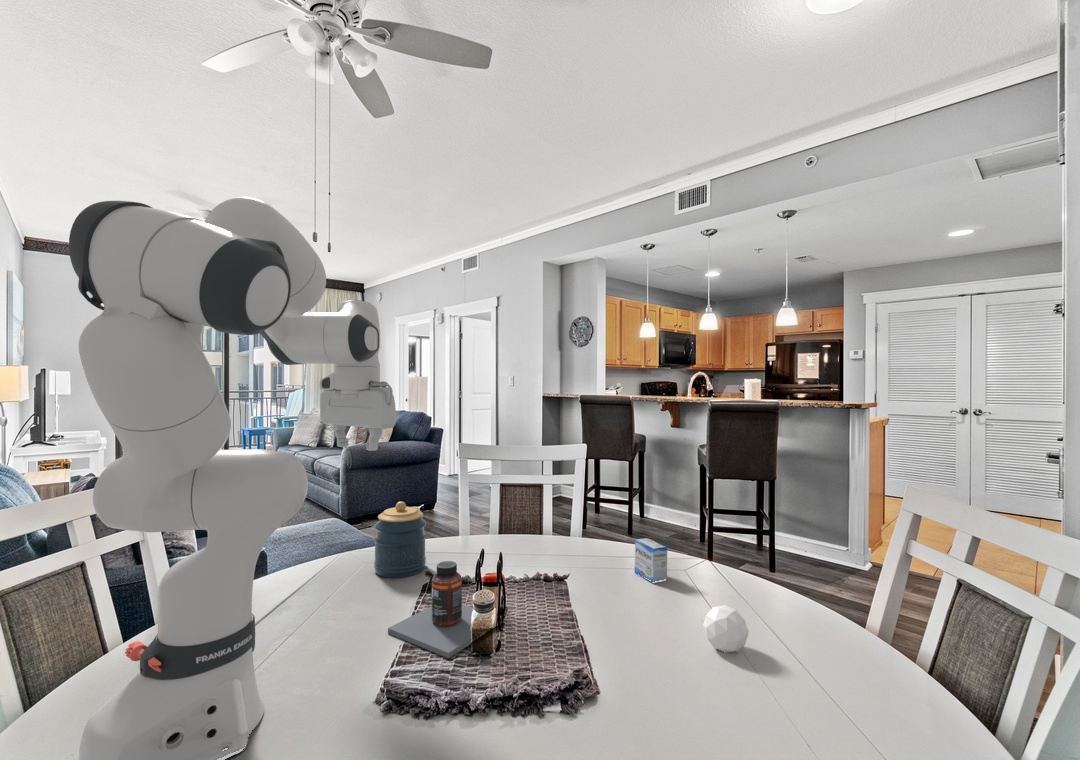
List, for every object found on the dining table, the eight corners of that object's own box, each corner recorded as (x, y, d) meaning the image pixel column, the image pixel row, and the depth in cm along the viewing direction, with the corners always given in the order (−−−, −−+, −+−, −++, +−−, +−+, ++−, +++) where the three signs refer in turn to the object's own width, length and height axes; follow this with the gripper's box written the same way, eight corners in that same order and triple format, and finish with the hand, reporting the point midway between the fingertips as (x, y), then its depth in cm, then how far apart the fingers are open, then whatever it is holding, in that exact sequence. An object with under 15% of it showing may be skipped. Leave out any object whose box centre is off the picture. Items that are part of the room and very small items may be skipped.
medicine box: (633, 573, 129) (634, 539, 129) (648, 570, 131) (648, 537, 131) (653, 584, 122) (653, 548, 122) (667, 581, 124) (667, 546, 124)
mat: (448, 658, 89) (448, 652, 89) (387, 633, 97) (387, 628, 97) (503, 622, 102) (503, 617, 102) (445, 603, 111) (446, 598, 111)
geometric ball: (730, 659, 94) (753, 622, 95) (735, 665, 87) (759, 625, 88) (694, 631, 97) (716, 595, 98) (695, 635, 90) (719, 596, 91)
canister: (374, 563, 135) (375, 497, 135) (423, 558, 139) (424, 494, 139) (373, 581, 123) (374, 509, 123) (427, 575, 126) (428, 505, 126)
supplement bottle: (464, 614, 103) (465, 559, 103) (457, 628, 97) (458, 570, 97) (436, 613, 104) (436, 558, 104) (427, 627, 98) (428, 569, 98)
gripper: (404, 381, 100) (403, 450, 100) (340, 381, 111) (340, 443, 111) (378, 381, 95) (377, 454, 95) (314, 380, 106) (313, 446, 106)
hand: (356, 448), depth 103 cm, fingers open, 8 cm apart
